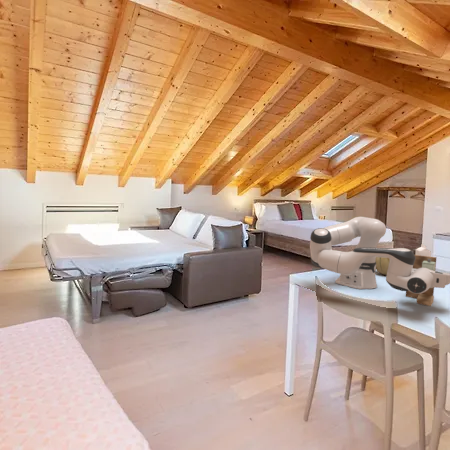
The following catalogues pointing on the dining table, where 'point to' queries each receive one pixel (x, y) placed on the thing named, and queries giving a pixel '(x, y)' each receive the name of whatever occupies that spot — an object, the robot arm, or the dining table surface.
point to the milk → (423, 251)
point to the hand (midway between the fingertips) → (428, 271)
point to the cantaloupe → (382, 265)
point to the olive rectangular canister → (429, 265)
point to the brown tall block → (428, 296)
